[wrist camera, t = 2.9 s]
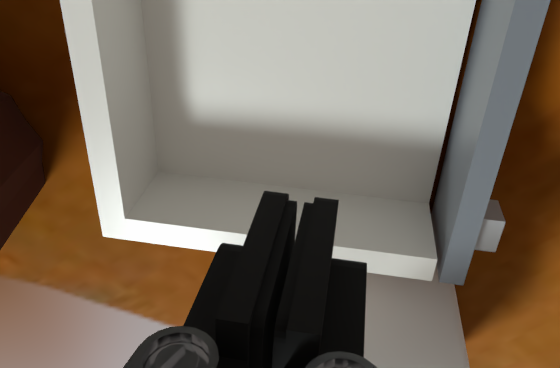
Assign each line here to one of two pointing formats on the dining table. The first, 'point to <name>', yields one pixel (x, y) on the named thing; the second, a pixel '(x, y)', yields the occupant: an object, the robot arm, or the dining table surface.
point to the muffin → (17, 166)
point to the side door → (483, 133)
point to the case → (268, 116)
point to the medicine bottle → (413, 323)
